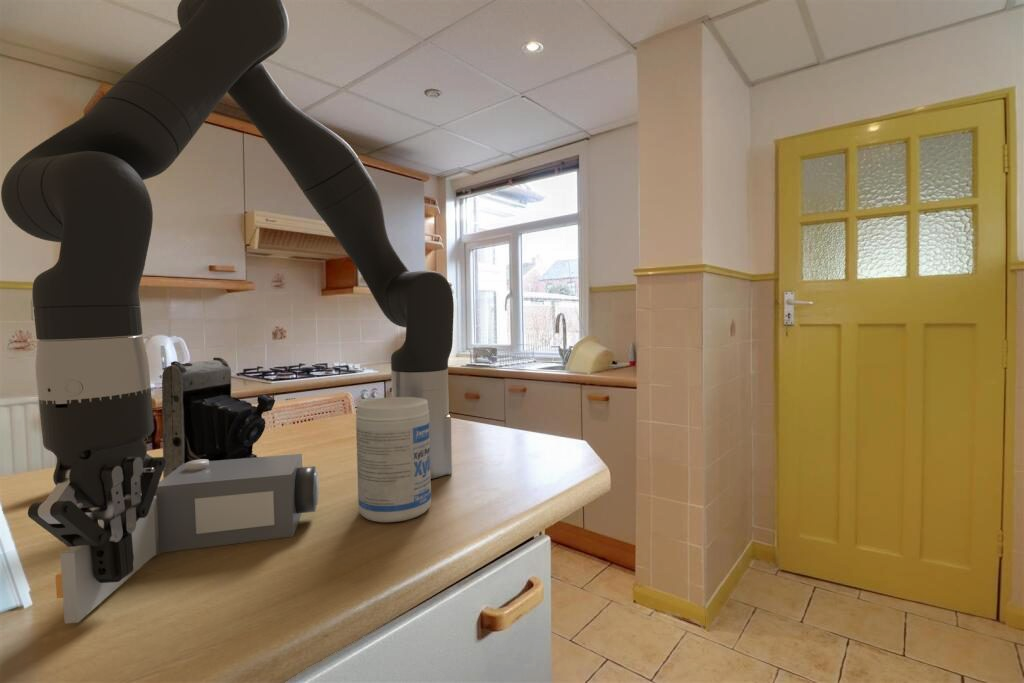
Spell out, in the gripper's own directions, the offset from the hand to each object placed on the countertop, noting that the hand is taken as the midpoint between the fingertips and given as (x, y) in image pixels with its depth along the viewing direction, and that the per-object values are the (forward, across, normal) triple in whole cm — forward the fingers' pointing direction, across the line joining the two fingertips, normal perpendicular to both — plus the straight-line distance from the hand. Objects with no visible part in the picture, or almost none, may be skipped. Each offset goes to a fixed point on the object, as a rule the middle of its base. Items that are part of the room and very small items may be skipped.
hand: (115, 578), depth 44 cm
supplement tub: (+4, -20, +21) cm, 30 cm away
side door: (+2, -3, -2) cm, 4 cm away
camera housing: (+3, -16, +4) cm, 17 cm away
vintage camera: (+3, -30, -4) cm, 30 cm away
